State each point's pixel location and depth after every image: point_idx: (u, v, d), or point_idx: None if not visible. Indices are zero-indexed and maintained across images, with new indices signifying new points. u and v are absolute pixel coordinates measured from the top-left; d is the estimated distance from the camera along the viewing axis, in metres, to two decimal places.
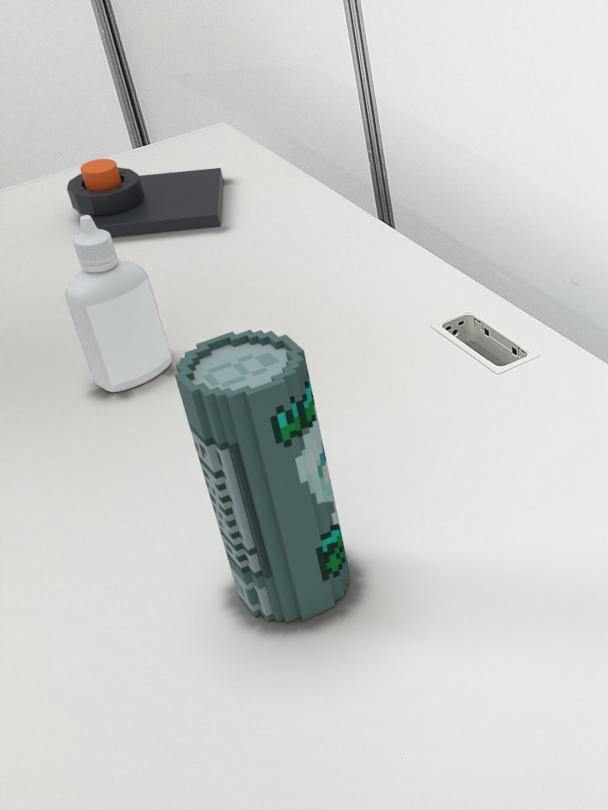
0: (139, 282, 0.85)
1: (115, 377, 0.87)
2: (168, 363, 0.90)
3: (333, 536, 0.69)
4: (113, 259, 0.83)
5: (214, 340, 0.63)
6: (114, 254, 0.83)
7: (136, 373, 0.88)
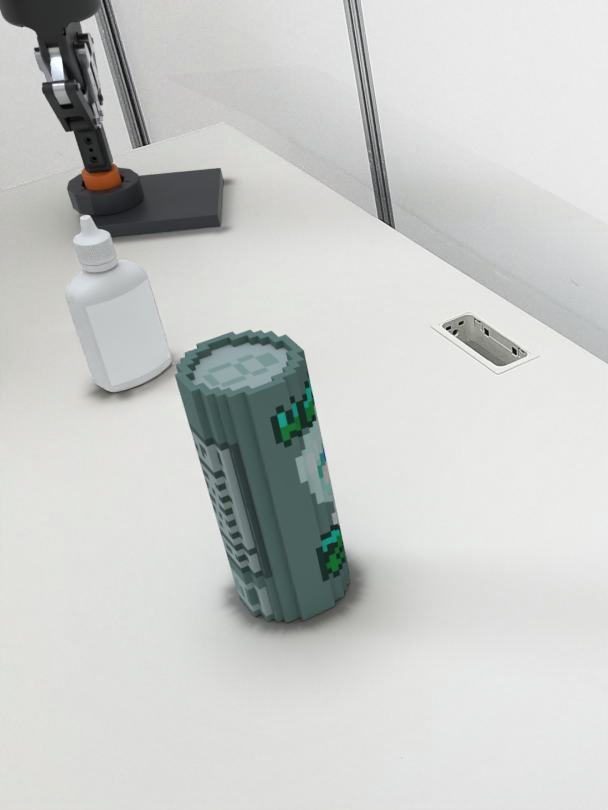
0: (139, 282, 0.85)
1: (115, 377, 0.87)
2: (168, 363, 0.90)
3: (333, 536, 0.69)
4: (113, 259, 0.83)
5: (214, 340, 0.63)
6: (114, 254, 0.83)
7: (136, 373, 0.88)
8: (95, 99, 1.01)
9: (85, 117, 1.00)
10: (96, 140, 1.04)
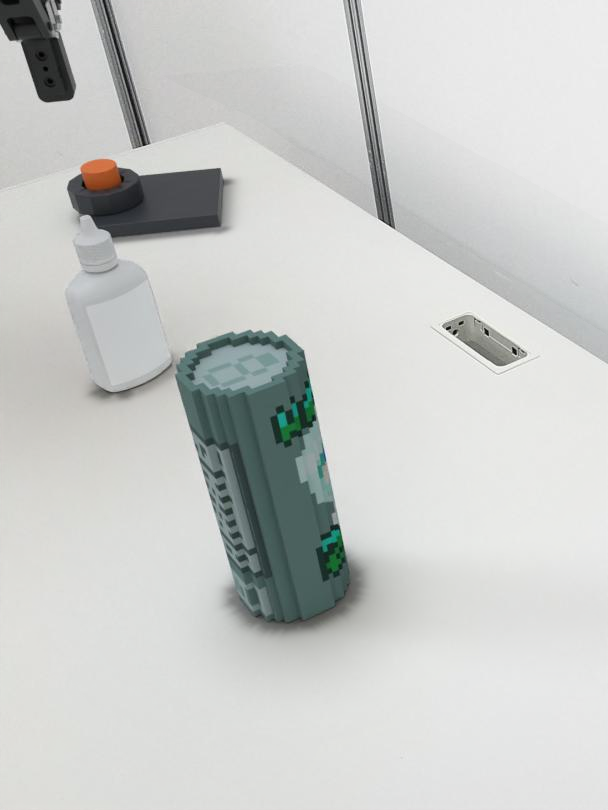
0: (139, 282, 0.85)
1: (115, 377, 0.87)
2: (168, 363, 0.90)
3: (333, 536, 0.69)
4: (113, 259, 0.83)
5: (214, 340, 0.63)
6: (114, 254, 0.83)
7: (136, 373, 0.88)
8: None
9: (36, 18, 0.72)
10: (52, 55, 0.76)
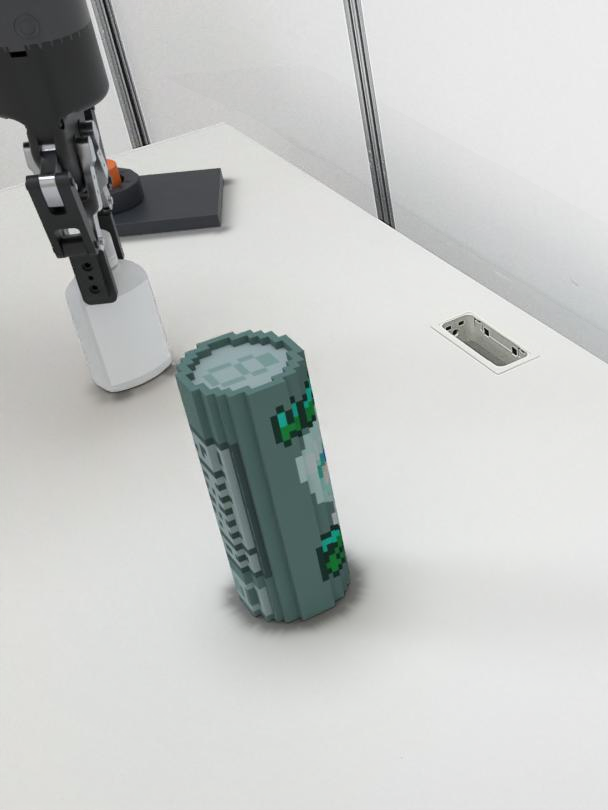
0: (139, 282, 0.85)
1: (115, 377, 0.87)
2: (168, 363, 0.90)
3: (333, 536, 0.69)
4: (113, 259, 0.83)
5: (214, 340, 0.63)
6: (114, 254, 0.83)
7: (136, 373, 0.88)
8: (97, 208, 0.78)
9: (82, 231, 0.76)
10: (97, 266, 0.80)
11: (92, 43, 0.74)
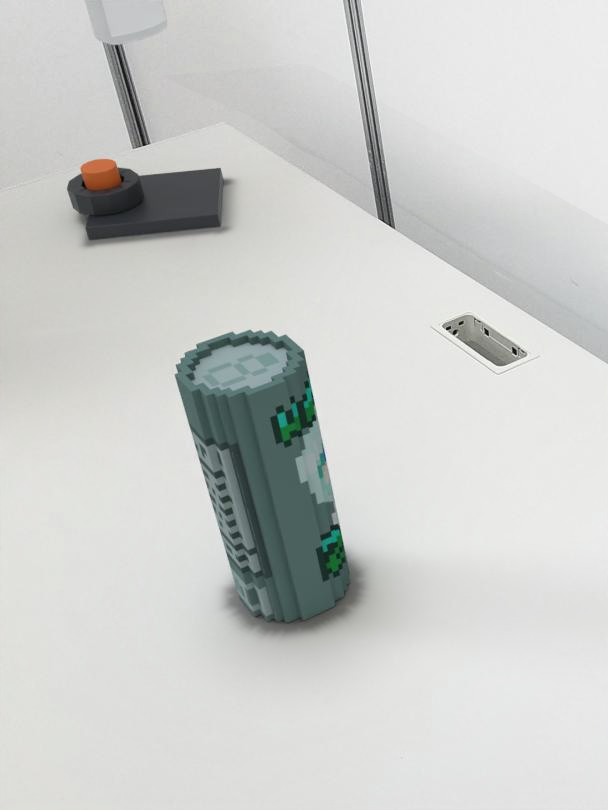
0: None
1: (115, 28, 0.94)
2: (164, 26, 0.97)
3: (333, 536, 0.69)
4: None
5: (214, 340, 0.63)
6: None
7: (134, 27, 0.95)
8: None
9: None
10: None
11: None
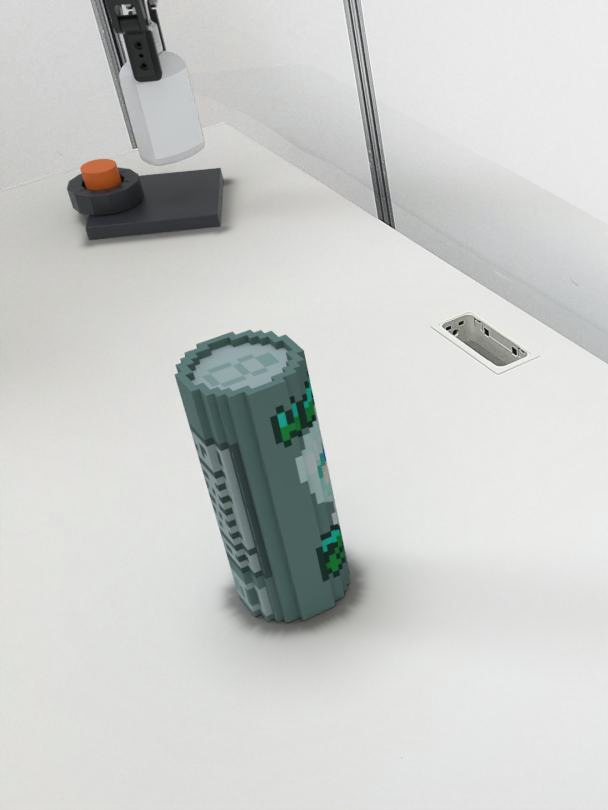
0: (179, 69, 1.02)
1: (159, 152, 1.04)
2: (202, 146, 1.07)
3: (333, 536, 0.69)
4: (159, 46, 1.01)
5: (214, 340, 0.63)
6: (160, 42, 1.01)
7: (176, 150, 1.05)
8: None
9: (136, 7, 0.94)
10: (147, 45, 0.97)
11: None
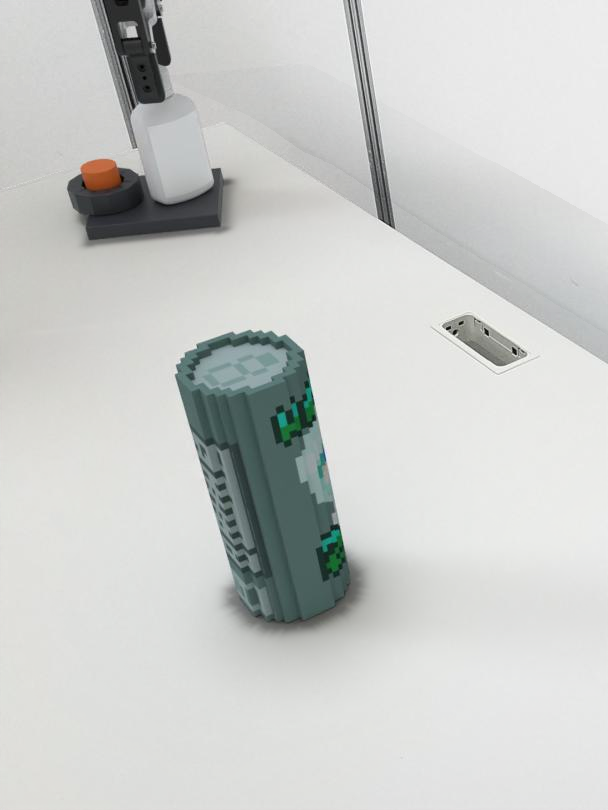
0: (189, 111, 1.05)
1: (169, 191, 1.07)
2: (211, 185, 1.10)
3: (333, 536, 0.69)
4: (169, 89, 1.03)
5: (214, 340, 0.63)
6: (170, 85, 1.03)
7: (186, 189, 1.07)
8: (152, 15, 0.96)
9: (139, 24, 0.93)
10: (150, 67, 0.97)
11: None
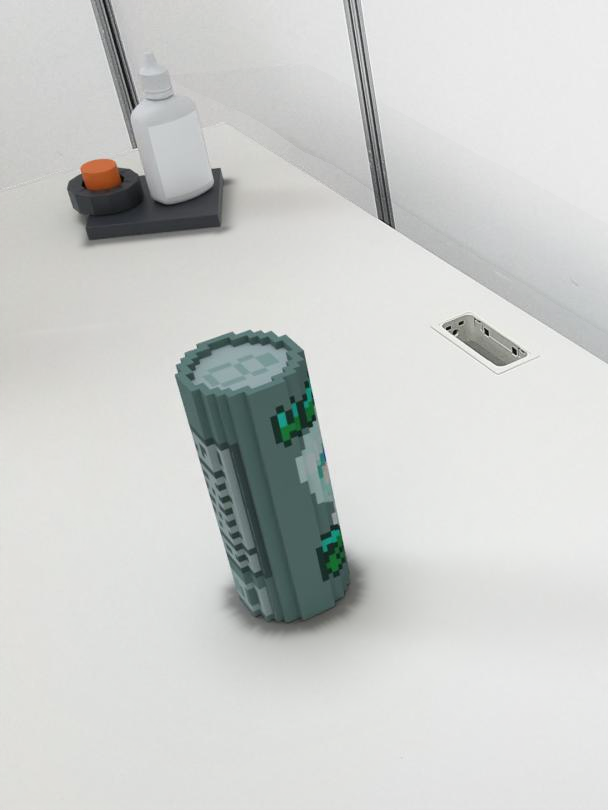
0: (189, 111, 1.05)
1: (169, 191, 1.07)
2: (211, 185, 1.10)
3: (333, 536, 0.69)
4: (169, 89, 1.03)
5: (214, 340, 0.63)
6: (170, 85, 1.03)
7: (186, 189, 1.07)
8: None
9: None
10: None
11: None
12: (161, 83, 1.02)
